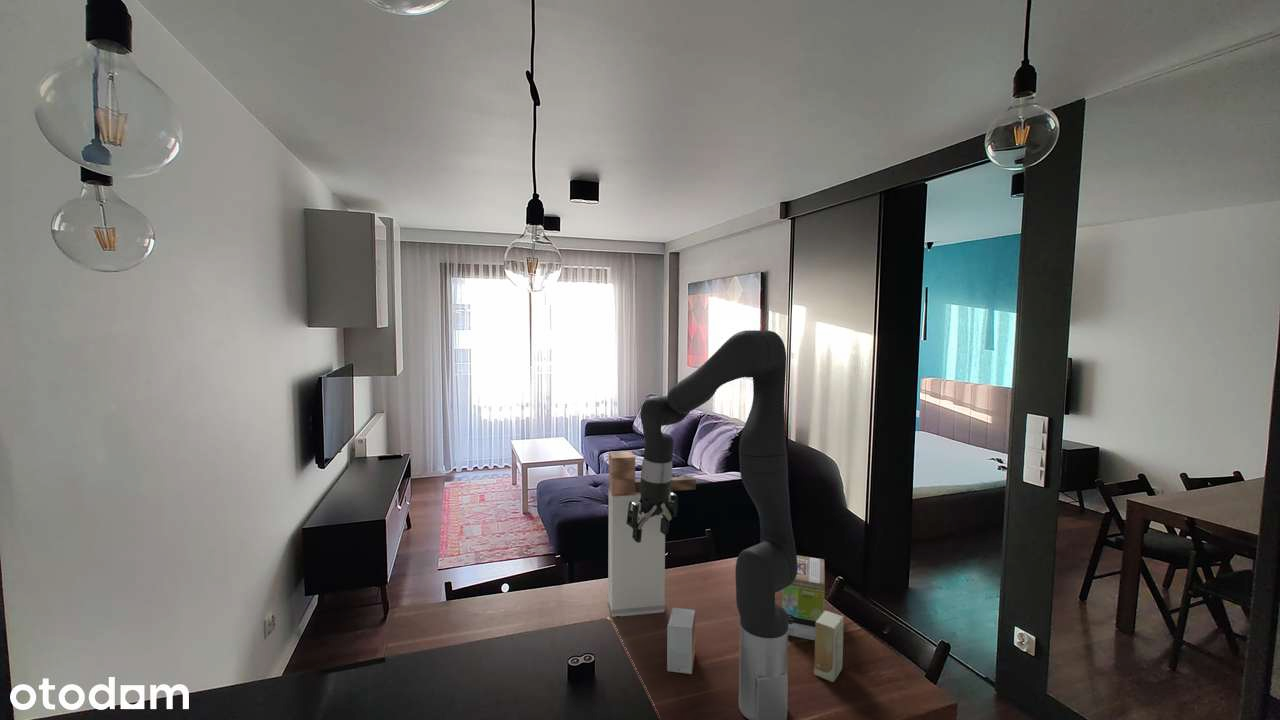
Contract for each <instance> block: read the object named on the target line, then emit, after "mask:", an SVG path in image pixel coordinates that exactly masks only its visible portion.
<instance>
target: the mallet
mask: <svg viewBox="0 0 1280 720" xmlns="http://www.w3.org/2000/svg"><path fill="white" fill-rule="evenodd" d="M640 482H641V478H636V456H635V455H634V453H633V452H632V451H631V450H620V451H608V491H609V490H610V492H611V495H612V496H628V495H635V493H638V492H640ZM696 484H697V479H696V478H695V477H694V476H693V475H690V476H685V475H684V476H672V479H671V489H670V492H672V491H673V492H675V491H689V490H691V491H692V490H696V489H697V485H696Z"/></svg>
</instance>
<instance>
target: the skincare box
mask: <svg viewBox="0 0 1280 720" xmlns="http://www.w3.org/2000/svg"><path fill="white" fill-rule="evenodd" d="M844 618H845V617H844V616H843V615H840V614H837V613H835V612H832V611H829V610H825V609H824V612H823V613H822V614H821V615H820V616H819V618H818V619H817V620H816V622H815V640H814V661H813V662H814V663H813V664H814V666H813V669H814V670H813V674H814V675H815V676H818V677H820V678H822V679H824V680H826V681H829V682H831V683H834V682H835V681H836V680H837V678H838V676H839V674H840V672H842V669H843V661H844V659H843V657H844V656H843V652H844V622H845V621H844Z"/></svg>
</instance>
